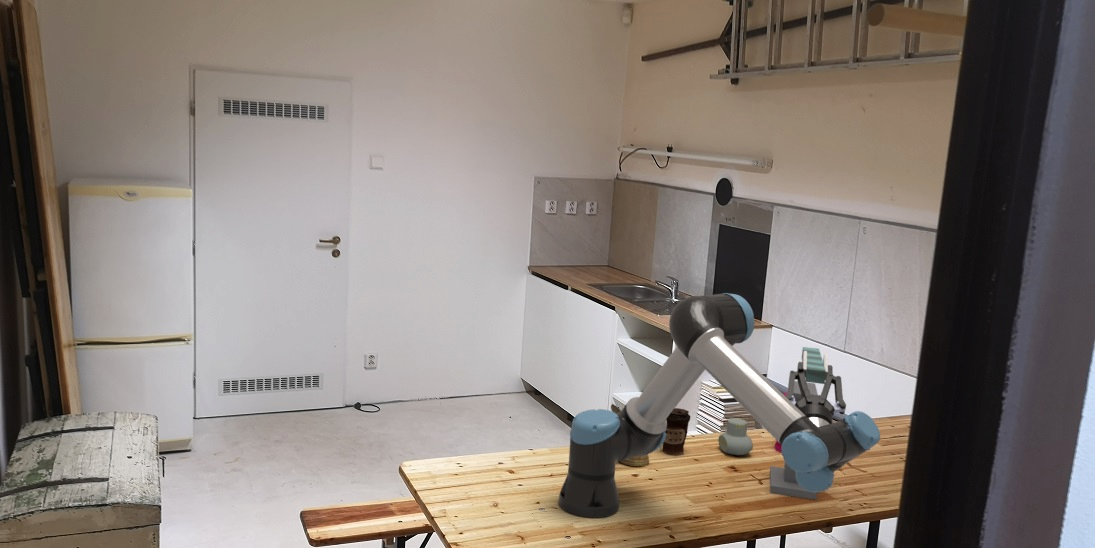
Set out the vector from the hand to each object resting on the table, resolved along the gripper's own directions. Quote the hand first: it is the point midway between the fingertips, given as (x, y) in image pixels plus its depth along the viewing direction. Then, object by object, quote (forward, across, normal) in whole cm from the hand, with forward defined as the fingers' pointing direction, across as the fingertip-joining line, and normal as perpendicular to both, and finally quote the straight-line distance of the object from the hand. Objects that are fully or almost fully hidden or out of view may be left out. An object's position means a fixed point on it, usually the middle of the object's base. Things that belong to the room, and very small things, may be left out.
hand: (814, 356), depth 200 cm
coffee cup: (+14, -34, -57) cm, 68 cm away
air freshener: (+21, -16, -62) cm, 67 cm away
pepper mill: (+29, -1, -66) cm, 72 cm away
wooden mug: (+1, -46, -50) cm, 68 cm away
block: (+1, 0, -5) cm, 5 cm away
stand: (+2, 0, -51) cm, 51 cm away
